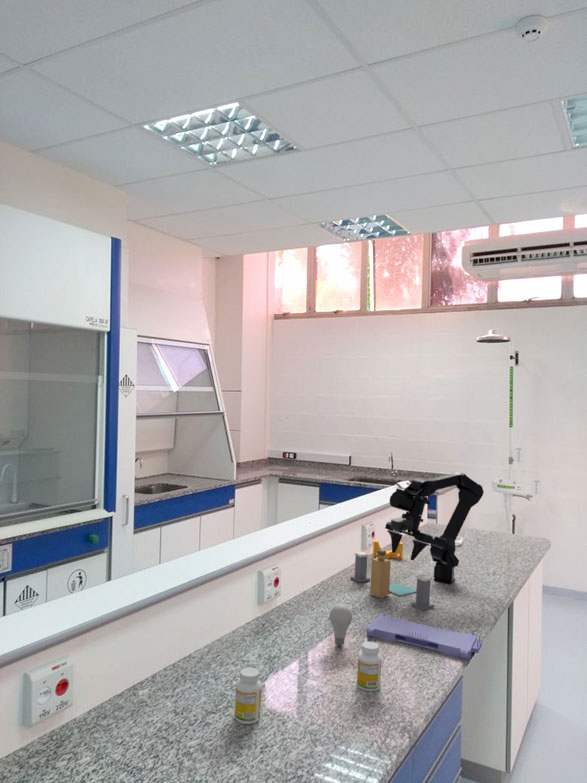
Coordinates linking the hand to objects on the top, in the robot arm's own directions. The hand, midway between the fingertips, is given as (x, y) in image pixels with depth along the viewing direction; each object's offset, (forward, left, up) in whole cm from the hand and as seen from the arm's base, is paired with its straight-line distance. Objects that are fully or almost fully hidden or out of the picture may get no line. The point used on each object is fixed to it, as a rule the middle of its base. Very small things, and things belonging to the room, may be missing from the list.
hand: (402, 556), depth 213 cm
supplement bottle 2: (-18, +74, -11) cm, 77 cm away
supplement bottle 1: (-2, +101, -11) cm, 101 cm away
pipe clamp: (+17, -33, -11) cm, 39 cm away
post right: (+15, +2, -11) cm, 18 cm away
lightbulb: (-3, +58, -11) cm, 59 cm away
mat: (-1, +4, -11) cm, 12 cm away
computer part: (-21, +40, -11) cm, 47 cm away
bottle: (+3, +13, -11) cm, 17 cm away
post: (-12, +15, -11) cm, 22 cm away
